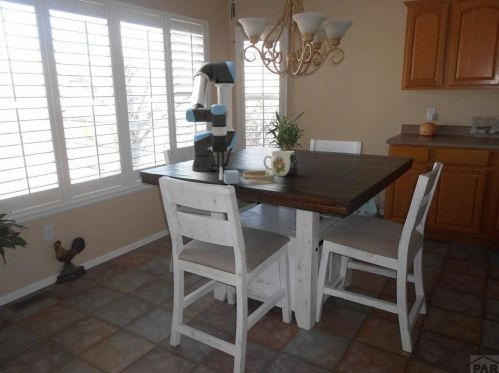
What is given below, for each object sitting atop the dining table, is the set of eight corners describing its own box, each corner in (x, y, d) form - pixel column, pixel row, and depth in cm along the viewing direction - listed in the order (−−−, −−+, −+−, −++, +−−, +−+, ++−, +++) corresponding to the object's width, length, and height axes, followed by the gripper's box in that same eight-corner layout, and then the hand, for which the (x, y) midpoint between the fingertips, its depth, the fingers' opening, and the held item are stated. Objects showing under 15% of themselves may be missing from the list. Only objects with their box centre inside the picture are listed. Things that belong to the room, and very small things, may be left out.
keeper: (223, 181, 214) (223, 170, 213) (236, 180, 216) (236, 169, 215) (226, 184, 208) (225, 173, 206) (239, 183, 209) (239, 172, 208)
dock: (243, 178, 221) (243, 171, 220) (266, 177, 224) (266, 170, 223) (249, 184, 206) (249, 176, 205) (274, 182, 209) (274, 175, 208)
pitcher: (265, 172, 237) (265, 149, 234) (295, 173, 233) (295, 150, 229) (261, 176, 226) (261, 152, 223) (293, 177, 222) (293, 152, 219)
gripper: (207, 136, 200) (209, 181, 205) (233, 135, 202) (234, 180, 208) (206, 134, 207) (207, 178, 212) (230, 133, 210) (231, 177, 215)
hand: (220, 179), depth 210 cm, fingers closed
